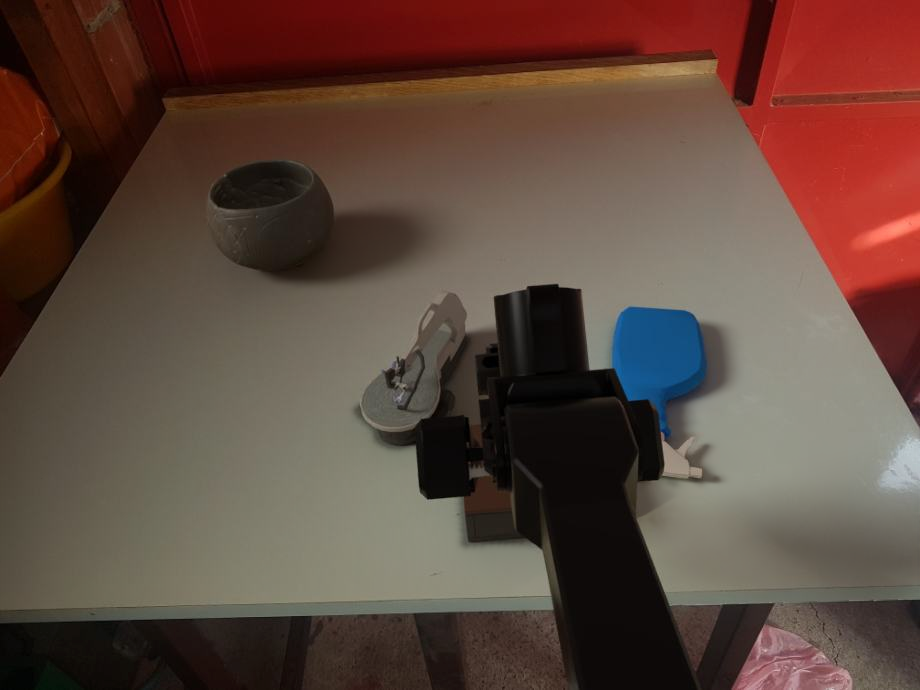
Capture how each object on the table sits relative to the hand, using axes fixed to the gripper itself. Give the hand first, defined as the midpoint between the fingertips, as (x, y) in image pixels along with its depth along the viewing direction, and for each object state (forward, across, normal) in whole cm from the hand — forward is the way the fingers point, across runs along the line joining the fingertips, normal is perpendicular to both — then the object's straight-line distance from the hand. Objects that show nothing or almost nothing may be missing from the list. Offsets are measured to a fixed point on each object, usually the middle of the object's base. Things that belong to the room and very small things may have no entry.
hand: (529, 447), depth 62 cm
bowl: (+40, +32, -31) cm, 60 cm away
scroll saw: (+21, +10, -8) cm, 25 cm away
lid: (+7, 0, +2) cm, 7 cm away
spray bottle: (+18, -17, -4) cm, 25 cm away
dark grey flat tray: (+10, 0, +5) cm, 12 cm away
